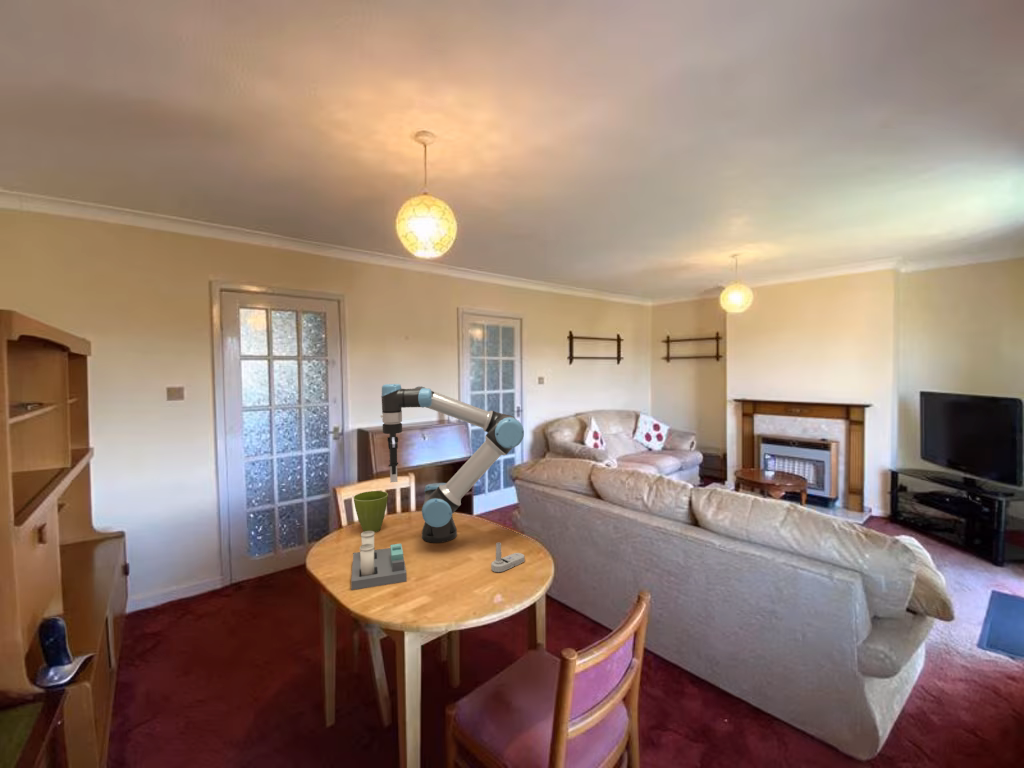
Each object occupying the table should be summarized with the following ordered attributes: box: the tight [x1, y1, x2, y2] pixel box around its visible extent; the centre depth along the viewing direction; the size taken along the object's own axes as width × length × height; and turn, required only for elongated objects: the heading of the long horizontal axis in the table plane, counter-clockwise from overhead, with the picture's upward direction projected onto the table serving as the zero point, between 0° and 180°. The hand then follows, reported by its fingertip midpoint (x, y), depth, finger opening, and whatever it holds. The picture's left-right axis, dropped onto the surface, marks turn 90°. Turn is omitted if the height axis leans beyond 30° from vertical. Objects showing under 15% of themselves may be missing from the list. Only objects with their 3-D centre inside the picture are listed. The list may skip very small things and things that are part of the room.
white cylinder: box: [360, 531, 376, 559], centre depth 168 cm, size 5×5×12 cm
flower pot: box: [353, 490, 389, 533], centre depth 203 cm, size 15×15×16 cm
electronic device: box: [490, 542, 526, 573], centre depth 166 cm, size 5×10×15 cm
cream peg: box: [359, 544, 375, 577], centre depth 156 cm, size 5×5×12 cm
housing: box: [350, 547, 408, 591], centre depth 163 cm, size 18×24×6 cm
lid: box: [389, 543, 404, 562], centre depth 164 cm, size 4×10×5 cm, turn 18°
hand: (393, 481), depth 179 cm, fingers closed
